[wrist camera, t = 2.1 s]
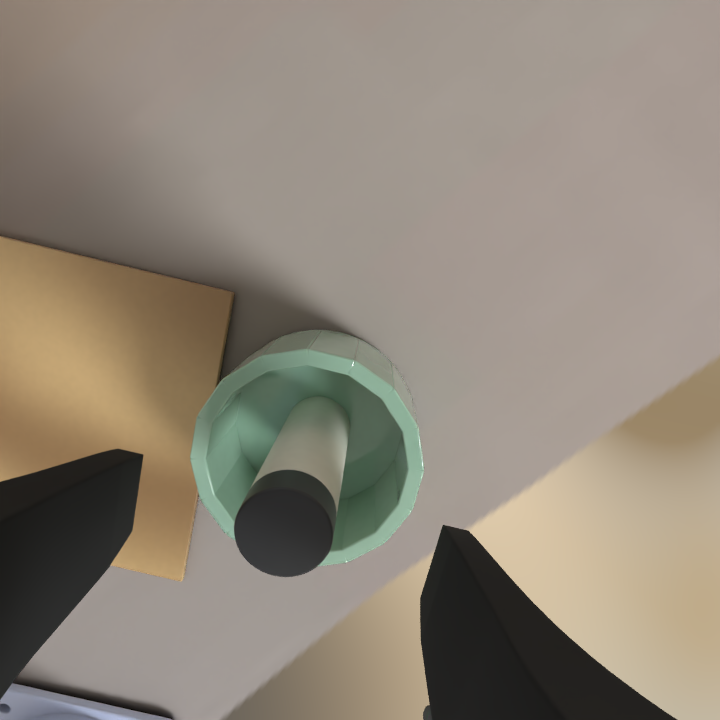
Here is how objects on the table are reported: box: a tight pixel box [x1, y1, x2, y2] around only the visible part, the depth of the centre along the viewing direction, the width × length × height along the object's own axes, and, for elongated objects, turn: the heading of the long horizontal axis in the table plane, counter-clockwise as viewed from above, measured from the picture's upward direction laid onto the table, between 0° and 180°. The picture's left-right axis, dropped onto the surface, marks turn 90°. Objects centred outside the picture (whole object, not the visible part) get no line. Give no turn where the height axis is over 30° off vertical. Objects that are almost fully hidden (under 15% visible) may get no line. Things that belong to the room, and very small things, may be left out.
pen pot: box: [190, 330, 424, 566], centre depth 17 cm, size 7×7×4 cm
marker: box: [234, 396, 350, 577], centre depth 15 cm, size 2×2×7 cm
